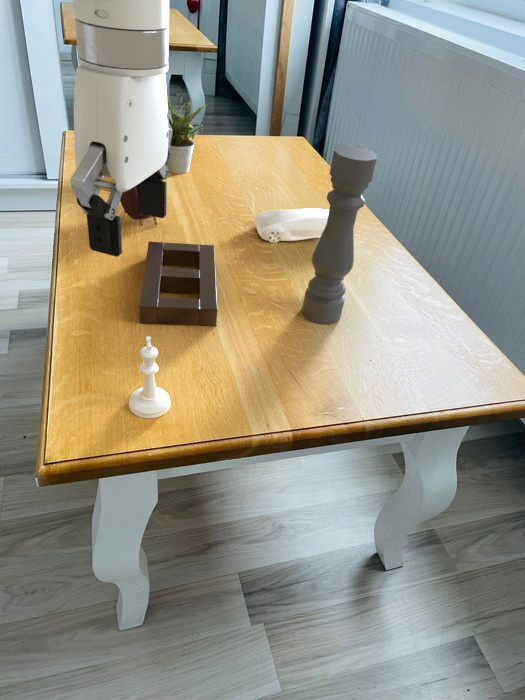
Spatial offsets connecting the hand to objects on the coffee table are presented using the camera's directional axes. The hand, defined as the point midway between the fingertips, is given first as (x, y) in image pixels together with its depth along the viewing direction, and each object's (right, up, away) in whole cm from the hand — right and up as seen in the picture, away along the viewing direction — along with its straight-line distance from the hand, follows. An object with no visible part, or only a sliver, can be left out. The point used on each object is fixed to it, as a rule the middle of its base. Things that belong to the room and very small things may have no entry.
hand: (130, 232), depth 57 cm
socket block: (+1, -3, +30) cm, 30 cm away
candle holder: (+23, -6, +29) cm, 38 cm away
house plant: (-7, +29, +69) cm, 76 cm away
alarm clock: (-10, +12, +48) cm, 50 cm away
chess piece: (0, -19, +9) cm, 21 cm away
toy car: (+21, +10, +51) cm, 56 cm away
